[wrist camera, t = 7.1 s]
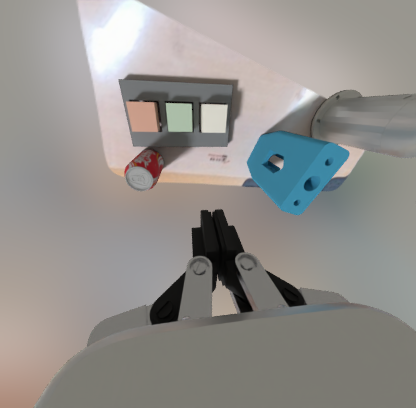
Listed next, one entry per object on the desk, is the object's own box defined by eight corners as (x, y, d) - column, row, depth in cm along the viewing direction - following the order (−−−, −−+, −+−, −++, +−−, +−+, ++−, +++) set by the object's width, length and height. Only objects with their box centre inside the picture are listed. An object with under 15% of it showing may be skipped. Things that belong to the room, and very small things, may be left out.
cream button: (224, 105, 32) (227, 104, 30) (222, 131, 35) (225, 132, 32) (201, 104, 32) (202, 104, 29) (201, 130, 34) (202, 132, 32)
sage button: (191, 104, 32) (191, 103, 30) (192, 130, 35) (192, 131, 32) (167, 103, 32) (165, 102, 29) (169, 129, 34) (168, 131, 32)
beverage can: (164, 150, 38) (156, 165, 28) (164, 174, 41) (156, 195, 31) (137, 146, 37) (119, 161, 27) (139, 171, 40) (123, 192, 30)
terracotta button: (156, 102, 31) (154, 102, 28) (160, 130, 33) (158, 131, 31) (130, 102, 30) (125, 101, 28) (136, 129, 33) (132, 131, 30)
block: (265, 126, 38) (328, 140, 21) (281, 133, 39) (352, 153, 22) (242, 170, 43) (278, 209, 26) (257, 175, 45) (299, 216, 28)
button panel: (230, 86, 33) (232, 85, 31) (225, 145, 39) (227, 146, 37) (122, 80, 30) (118, 79, 28) (135, 144, 36) (133, 146, 35)
